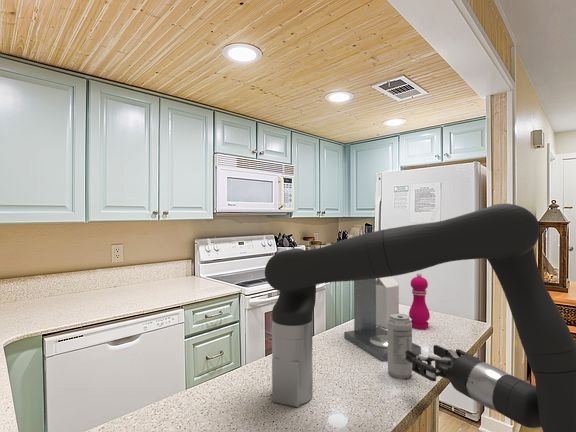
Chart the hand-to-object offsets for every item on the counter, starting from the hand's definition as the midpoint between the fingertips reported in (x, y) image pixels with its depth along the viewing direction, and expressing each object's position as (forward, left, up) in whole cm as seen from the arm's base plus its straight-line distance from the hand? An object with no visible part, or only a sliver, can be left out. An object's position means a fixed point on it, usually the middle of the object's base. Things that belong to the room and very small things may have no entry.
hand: (420, 351), depth 81 cm
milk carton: (+45, +13, -9) cm, 48 cm away
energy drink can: (+5, +5, -9) cm, 11 cm away
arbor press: (+26, +9, -9) cm, 29 cm away
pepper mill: (+47, +1, -9) cm, 48 cm away
